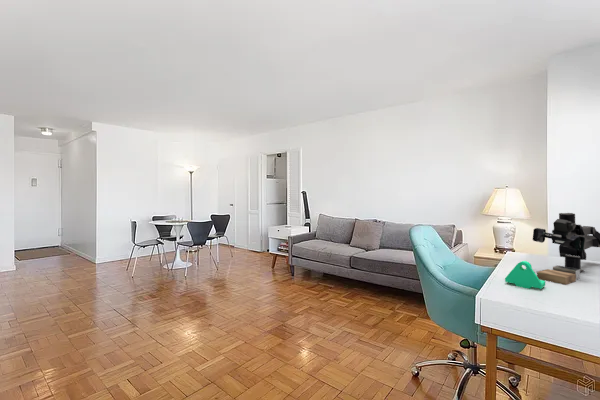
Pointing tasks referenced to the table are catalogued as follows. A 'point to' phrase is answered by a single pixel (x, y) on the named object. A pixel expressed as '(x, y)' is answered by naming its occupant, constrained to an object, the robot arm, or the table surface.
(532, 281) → the camera mount
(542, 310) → the table surface
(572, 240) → the robot arm
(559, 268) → the block
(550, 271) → the stand
